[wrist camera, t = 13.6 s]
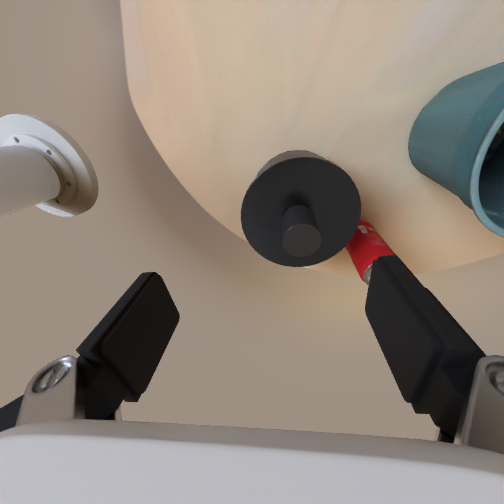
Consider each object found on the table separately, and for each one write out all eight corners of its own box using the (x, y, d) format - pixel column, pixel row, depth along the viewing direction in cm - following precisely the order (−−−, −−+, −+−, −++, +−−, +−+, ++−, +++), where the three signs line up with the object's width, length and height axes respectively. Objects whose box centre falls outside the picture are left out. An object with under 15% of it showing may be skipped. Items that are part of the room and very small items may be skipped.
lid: (228, 241, 31) (217, 268, 26) (266, 133, 23) (262, 139, 18) (319, 275, 33) (328, 308, 27) (384, 184, 25) (415, 204, 19)
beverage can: (377, 235, 38) (411, 278, 28) (349, 249, 40) (371, 295, 30) (363, 213, 36) (396, 251, 26) (335, 229, 38) (354, 270, 28)
